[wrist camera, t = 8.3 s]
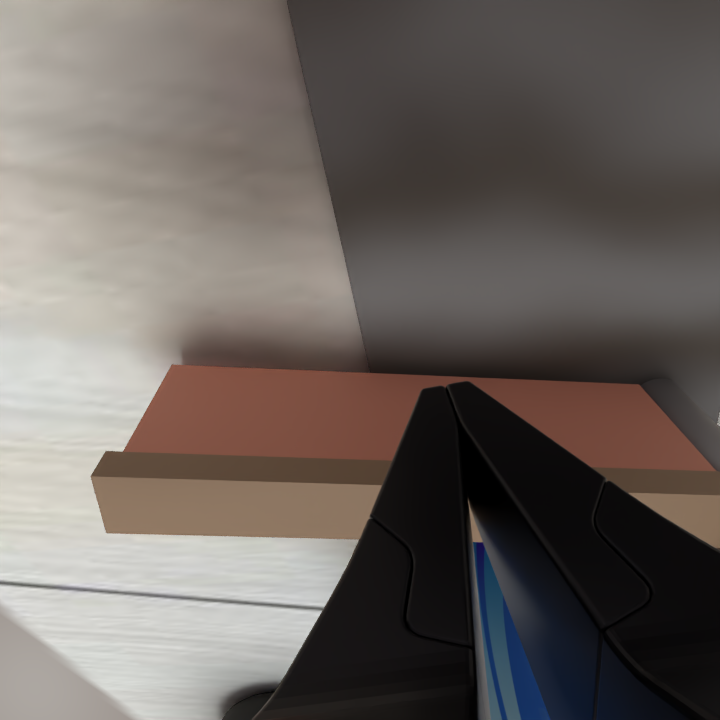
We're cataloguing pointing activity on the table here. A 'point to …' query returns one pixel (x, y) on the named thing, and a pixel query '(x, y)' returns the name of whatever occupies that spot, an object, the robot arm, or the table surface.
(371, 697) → the robot arm
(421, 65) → the gate frame
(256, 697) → the cola bottle
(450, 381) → the bar
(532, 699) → the beer can
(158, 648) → the table surface
